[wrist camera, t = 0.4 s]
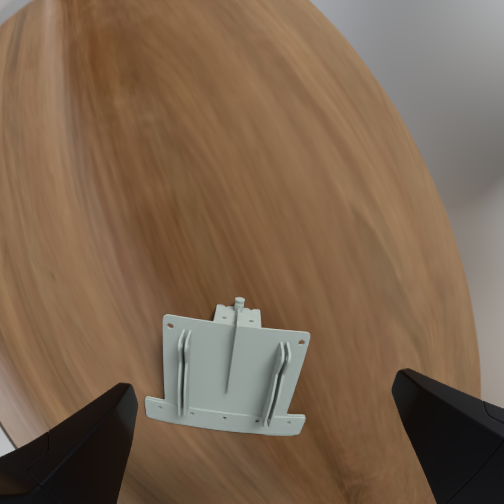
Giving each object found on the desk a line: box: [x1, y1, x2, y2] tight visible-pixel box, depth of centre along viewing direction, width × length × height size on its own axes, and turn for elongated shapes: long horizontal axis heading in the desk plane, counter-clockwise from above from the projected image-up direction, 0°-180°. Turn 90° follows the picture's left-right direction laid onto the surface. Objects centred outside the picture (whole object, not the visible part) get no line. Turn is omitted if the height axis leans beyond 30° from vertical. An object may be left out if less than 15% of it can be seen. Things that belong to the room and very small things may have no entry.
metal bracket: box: [145, 297, 310, 436], centre depth 22 cm, size 14×6×15 cm
